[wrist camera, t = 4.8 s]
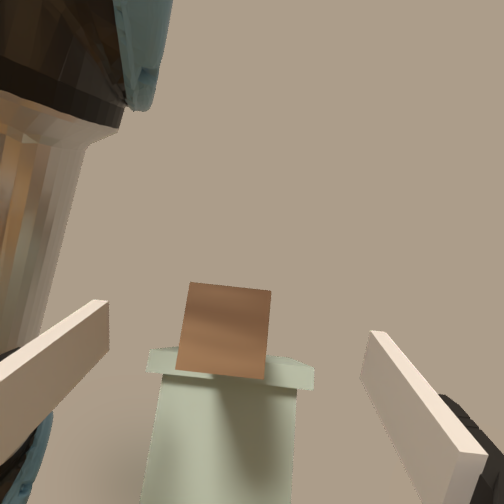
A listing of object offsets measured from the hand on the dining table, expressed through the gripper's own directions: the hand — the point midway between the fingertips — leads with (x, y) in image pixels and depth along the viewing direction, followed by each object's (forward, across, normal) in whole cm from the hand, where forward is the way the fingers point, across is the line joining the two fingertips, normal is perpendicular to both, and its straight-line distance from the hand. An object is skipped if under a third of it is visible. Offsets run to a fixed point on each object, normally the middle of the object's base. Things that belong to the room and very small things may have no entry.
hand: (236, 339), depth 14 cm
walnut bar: (+8, 0, -6) cm, 10 cm away
